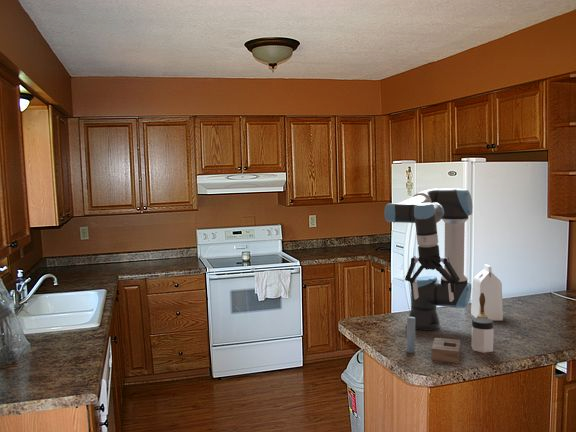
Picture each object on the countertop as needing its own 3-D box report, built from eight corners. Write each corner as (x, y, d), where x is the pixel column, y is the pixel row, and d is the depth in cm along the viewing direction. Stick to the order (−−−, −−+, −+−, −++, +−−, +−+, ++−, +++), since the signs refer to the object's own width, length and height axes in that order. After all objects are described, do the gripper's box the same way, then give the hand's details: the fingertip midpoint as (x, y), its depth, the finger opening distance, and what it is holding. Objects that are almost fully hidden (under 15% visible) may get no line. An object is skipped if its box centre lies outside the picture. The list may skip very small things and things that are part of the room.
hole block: (434, 348, 215) (434, 337, 215) (460, 350, 211) (460, 340, 211) (431, 359, 202) (431, 348, 201) (458, 362, 198) (458, 351, 198)
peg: (407, 349, 213) (407, 316, 212) (415, 350, 212) (415, 317, 211) (406, 352, 210) (406, 318, 209) (414, 353, 209) (414, 319, 208)
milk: (502, 320, 254) (504, 267, 252) (479, 320, 254) (480, 267, 252) (493, 313, 266) (494, 263, 264) (470, 313, 266) (471, 263, 264)
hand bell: (471, 328, 242) (472, 294, 241) (474, 323, 250) (474, 290, 248) (490, 330, 238) (491, 295, 237) (492, 325, 246) (493, 292, 244)
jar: (497, 349, 213) (497, 320, 212) (489, 354, 207) (489, 324, 206) (475, 344, 219) (476, 316, 218) (467, 349, 213) (467, 320, 212)
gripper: (392, 247, 198) (398, 300, 201) (458, 247, 184) (464, 305, 187) (400, 242, 204) (406, 294, 207) (464, 242, 190) (470, 298, 193)
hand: (433, 299), depth 197 cm, fingers open, 13 cm apart
